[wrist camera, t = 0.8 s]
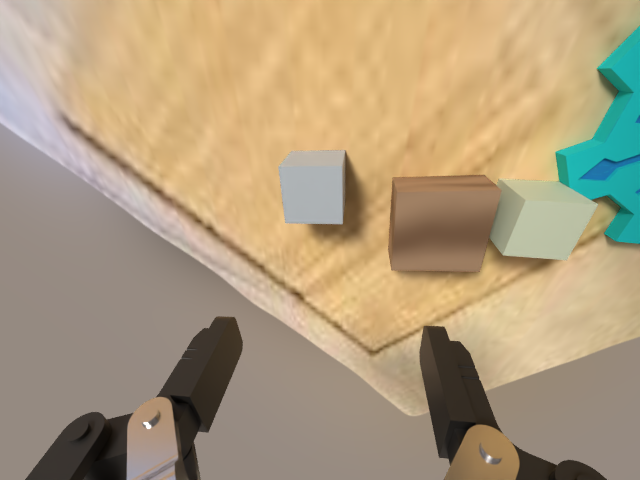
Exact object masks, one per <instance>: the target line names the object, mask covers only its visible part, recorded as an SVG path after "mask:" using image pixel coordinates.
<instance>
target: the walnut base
mask: <svg viewBox="0 0 640 480" xmlns="http://www.w3.org/2000/svg"><path fill="white" fill-rule="evenodd" d="M501 192H502V190H501V189H500V188H499V187H498V186H496V185H495V184H494V183H493V182H492V181H491V180H490V179H488V178H487V177H486V176H485V175H466V176H430V177H393V181H392V197H391V213H390V229H389V245H388V251H389V258H390V264H391V270H402V271H464V272H480V269H481V265H482V262H483V258H484V254H485V251H486V247H487V243H488V240H489V236H490V232H491V228H492V225H493V221H494V217H495V214H496V210H497V206H498V203H499V199H500V195H501Z"/></svg>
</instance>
